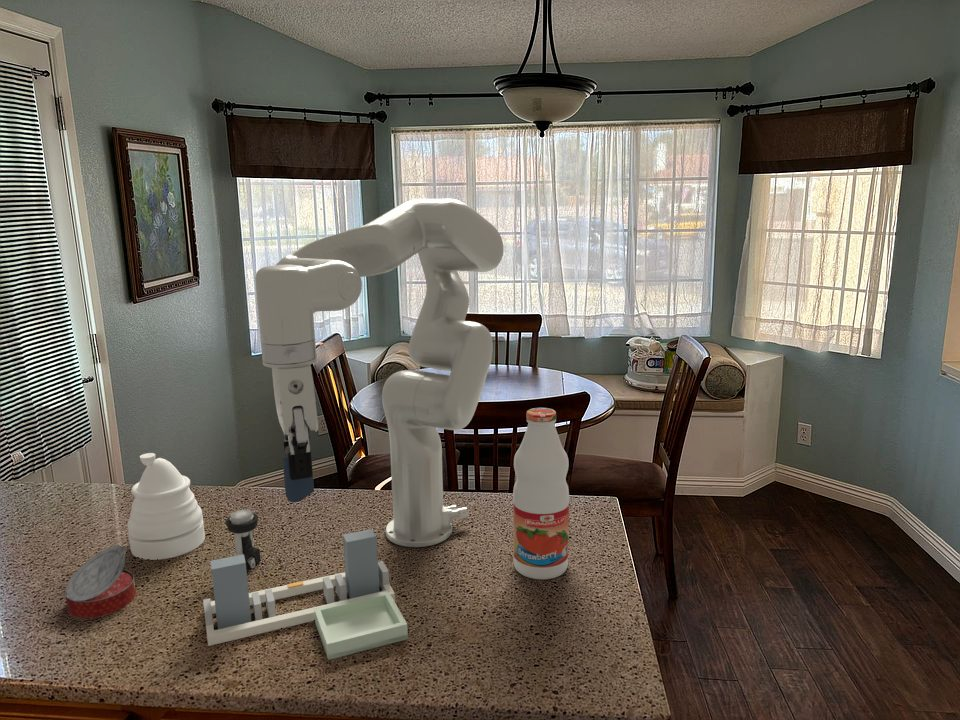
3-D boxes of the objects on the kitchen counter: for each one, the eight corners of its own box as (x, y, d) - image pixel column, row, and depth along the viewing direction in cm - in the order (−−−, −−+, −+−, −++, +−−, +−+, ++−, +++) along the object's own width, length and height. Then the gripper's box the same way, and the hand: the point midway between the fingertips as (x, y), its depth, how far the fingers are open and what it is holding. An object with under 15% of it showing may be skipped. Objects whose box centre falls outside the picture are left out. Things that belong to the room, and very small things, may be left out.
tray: (389, 605, 114) (388, 591, 113) (407, 639, 105) (407, 623, 105) (315, 623, 109) (314, 608, 109) (328, 660, 101) (327, 644, 100)
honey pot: (159, 566, 127) (146, 470, 123) (116, 548, 134) (102, 456, 129) (219, 537, 137) (210, 447, 133) (176, 521, 144) (166, 436, 140)
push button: (244, 580, 122) (238, 526, 119) (218, 575, 124) (212, 521, 121) (268, 562, 128) (264, 509, 125) (244, 557, 130) (238, 505, 127)
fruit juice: (563, 552, 129) (565, 402, 123) (572, 580, 120) (574, 419, 114) (511, 554, 129) (510, 403, 123) (515, 582, 120) (515, 421, 114)
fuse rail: (378, 572, 124) (375, 518, 121) (395, 601, 115) (392, 543, 113) (204, 611, 113) (197, 552, 111) (208, 646, 104) (200, 583, 102)
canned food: (130, 633, 116) (121, 599, 109) (61, 634, 114) (48, 599, 107) (146, 571, 124) (139, 536, 118) (83, 571, 122) (71, 536, 116)
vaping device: (317, 490, 111) (312, 415, 108) (297, 504, 106) (291, 426, 103) (303, 487, 112) (297, 413, 109) (282, 501, 107) (276, 424, 104)
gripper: (325, 362, 97) (334, 488, 101) (307, 338, 112) (315, 449, 117) (268, 368, 95) (279, 497, 99) (256, 343, 110) (267, 456, 114)
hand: (298, 470), depth 108 cm, fingers closed on vaping device, 4 cm apart
